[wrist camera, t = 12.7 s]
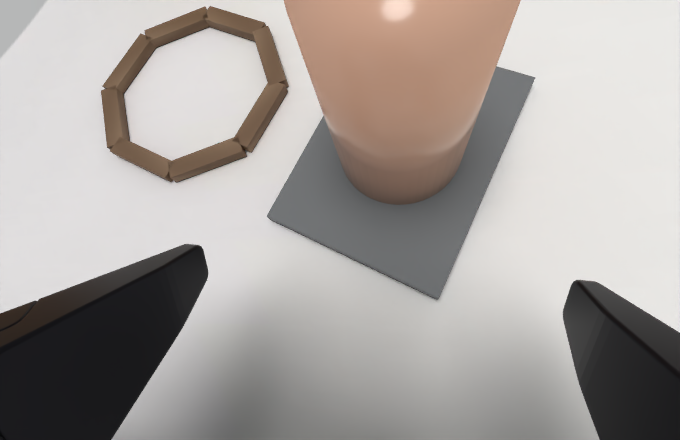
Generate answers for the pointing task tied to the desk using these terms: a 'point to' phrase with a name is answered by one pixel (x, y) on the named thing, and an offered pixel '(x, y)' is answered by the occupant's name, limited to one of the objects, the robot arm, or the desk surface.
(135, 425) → the desk surface
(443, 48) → the peach cylinder
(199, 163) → the coaster ring
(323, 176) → the rubber mat
